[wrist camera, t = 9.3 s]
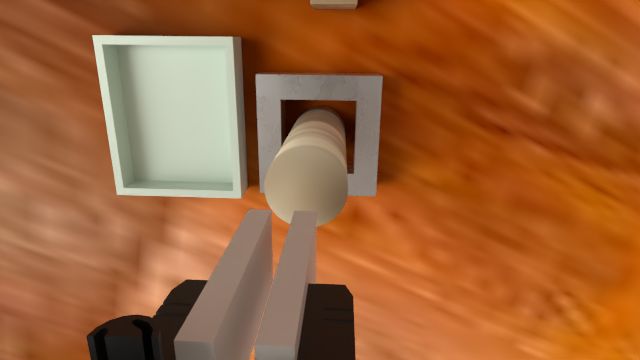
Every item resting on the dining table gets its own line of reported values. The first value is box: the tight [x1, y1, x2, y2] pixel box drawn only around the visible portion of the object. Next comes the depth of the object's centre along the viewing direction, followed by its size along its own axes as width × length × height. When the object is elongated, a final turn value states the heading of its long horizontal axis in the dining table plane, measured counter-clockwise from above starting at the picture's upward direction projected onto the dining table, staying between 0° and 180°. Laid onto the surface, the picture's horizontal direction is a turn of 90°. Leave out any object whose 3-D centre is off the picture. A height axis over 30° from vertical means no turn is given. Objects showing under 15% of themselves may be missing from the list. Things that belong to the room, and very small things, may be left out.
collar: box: [255, 72, 383, 196], centre depth 32 cm, size 9×9×2 cm
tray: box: [92, 35, 248, 198], centre depth 32 cm, size 12×10×2 cm
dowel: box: [264, 106, 348, 226], centre depth 26 cm, size 4×4×14 cm
